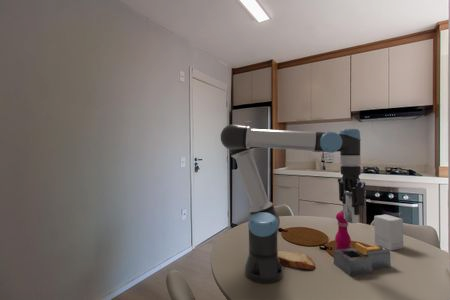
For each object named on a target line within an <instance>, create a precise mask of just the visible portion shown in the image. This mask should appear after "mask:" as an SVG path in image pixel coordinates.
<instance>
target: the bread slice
mask: <svg viewBox="0 0 450 300" xmlns="http://www.w3.org/2000/svg"><path fill="white" fill-rule="evenodd" d="M278 258H279V261H280V264H281V266H282V265H283V266H285V267H289V268H294V269H299V270H302V269H303V270H307V271H308V270H309V271H310V270H314V269H317V268H316V264H315V261H313V259H312V258H311V257H310V256H309V255H308V254H305V253H301V252H297V251H291V250H290V251H281V250H279V251H278Z"/></svg>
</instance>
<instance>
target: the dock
mask: <svg viewBox="0 0 450 300" xmlns="http://www.w3.org/2000/svg"><path fill="white" fill-rule="evenodd" d="M376 246H377V247H379V248H380V250H376V251H367V255H363V254H362V253H360V252H358V251H357V250H355V248H354V247H350V248H348V249H333V264H334V265H335V266H336V267H338V268H339V269H340V270H341V271H343V272H345V274H347V275H348V276H349V277H352V276H362V275H368V274H369V275H370V274H372V273H373V270H377V269H386V268H391V250H388V249H386V248H384V247H382V246H379V245H376ZM372 247H374V246H372ZM383 248H384V249H383Z"/></svg>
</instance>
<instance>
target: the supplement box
mask: <svg viewBox="0 0 450 300" xmlns="http://www.w3.org/2000/svg"><path fill="white" fill-rule="evenodd" d="M373 219H374V223H373V224H374V244H375V245H376V246H382V247H383V248H384V249H388V250H390V251H395V250H401V249H404V219H403V218H401V217H397V216H393V215H391V214H390V215H389V214H381V215H380V214H378V215H374V217H373Z"/></svg>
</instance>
